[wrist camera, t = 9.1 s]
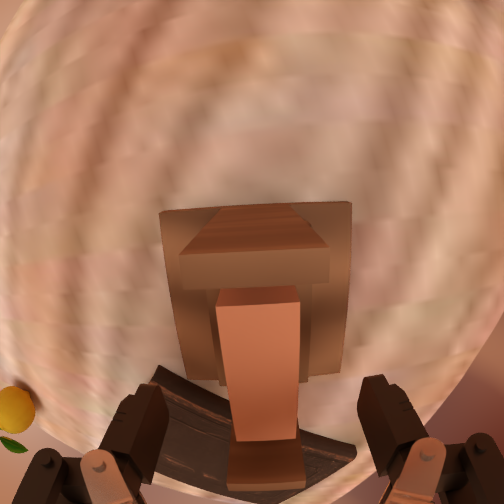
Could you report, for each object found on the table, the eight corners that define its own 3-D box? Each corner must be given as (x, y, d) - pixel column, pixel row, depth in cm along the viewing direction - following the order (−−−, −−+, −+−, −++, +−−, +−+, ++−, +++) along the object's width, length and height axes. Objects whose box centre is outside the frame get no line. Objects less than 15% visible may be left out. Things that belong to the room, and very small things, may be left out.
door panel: (232, 248, 18) (215, 306, 10) (281, 245, 18) (299, 301, 10) (242, 355, 20) (236, 441, 12) (284, 352, 20) (295, 438, 12)
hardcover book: (271, 494, 29) (272, 506, 27) (114, 435, 26) (108, 448, 24) (354, 441, 25) (359, 456, 23) (160, 360, 22) (153, 377, 20)
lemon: (50, 418, 25) (18, 467, 16) (18, 398, 25) (-15, 440, 15) (42, 387, 24) (1, 440, 14) (9, 365, 23) (-33, 410, 14)
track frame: (163, 210, 18) (63, 260, 8) (347, 201, 18) (448, 241, 7) (190, 371, 22) (157, 483, 11) (336, 365, 21) (375, 474, 11)
